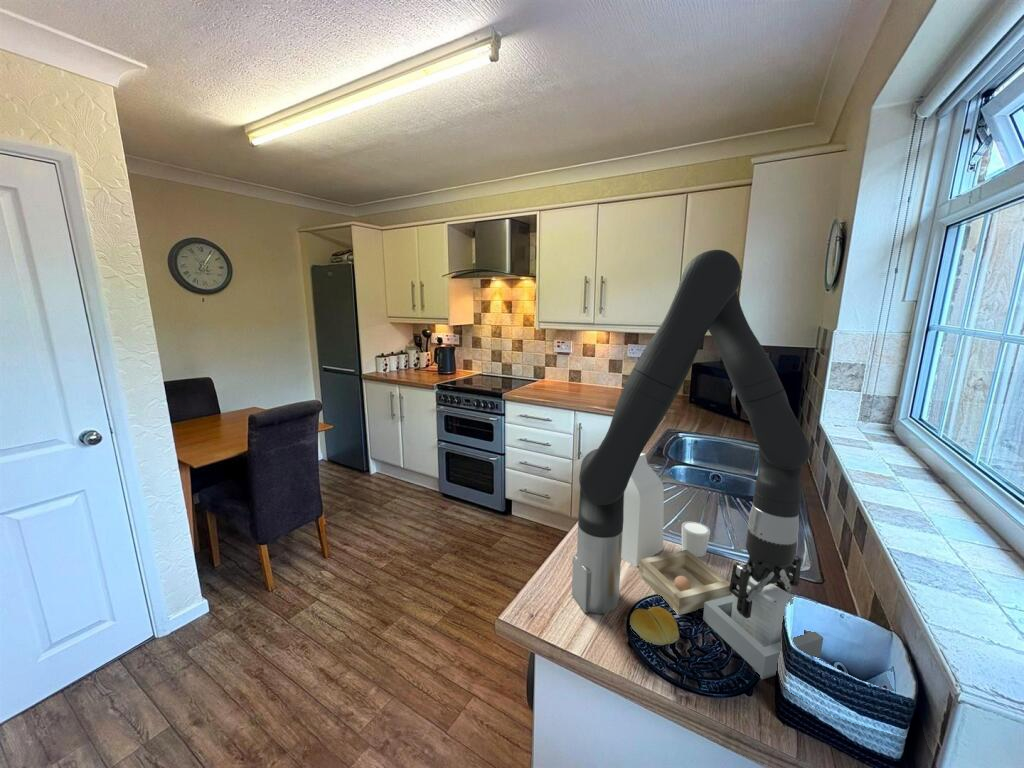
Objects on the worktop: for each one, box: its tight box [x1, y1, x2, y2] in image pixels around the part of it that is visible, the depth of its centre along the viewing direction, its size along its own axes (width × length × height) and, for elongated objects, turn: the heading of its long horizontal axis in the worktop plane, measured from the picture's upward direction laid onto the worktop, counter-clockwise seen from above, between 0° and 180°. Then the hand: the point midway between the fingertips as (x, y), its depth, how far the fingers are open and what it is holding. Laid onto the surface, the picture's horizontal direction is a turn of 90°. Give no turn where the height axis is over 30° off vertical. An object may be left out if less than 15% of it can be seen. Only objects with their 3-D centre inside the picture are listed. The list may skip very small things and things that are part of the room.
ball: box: [674, 576, 691, 591], centre depth 89 cm, size 3×3×3 cm
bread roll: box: [629, 606, 680, 646], centre depth 78 cm, size 8×9×4 cm
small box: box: [731, 577, 795, 647], centre depth 76 cm, size 8×6×10 cm
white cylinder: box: [681, 521, 711, 558], centre depth 104 cm, size 7×7×7 cm
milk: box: [621, 452, 665, 568], centre depth 104 cm, size 12×12×26 cm
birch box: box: [637, 550, 732, 616], centre depth 90 cm, size 14×14×4 cm
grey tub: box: [702, 594, 824, 680], centre depth 76 cm, size 14×14×4 cm
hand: (761, 610), depth 76 cm, fingers open, 8 cm apart
